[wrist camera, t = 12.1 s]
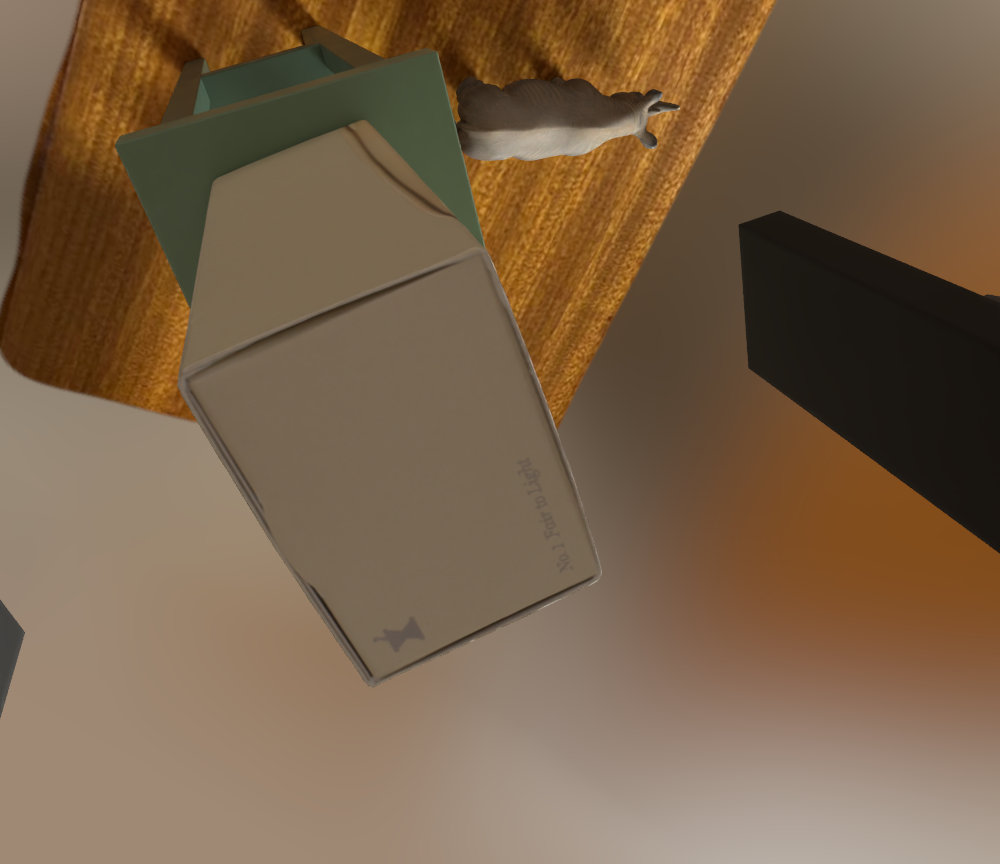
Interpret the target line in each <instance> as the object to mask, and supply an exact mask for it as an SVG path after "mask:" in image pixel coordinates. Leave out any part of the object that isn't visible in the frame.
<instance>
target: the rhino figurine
mask: <svg viewBox="0 0 1000 864" xmlns="http://www.w3.org/2000/svg"><path fill="white" fill-rule="evenodd" d="M456 94H457V100H458V102H459V105H458V114H459V117H460V118H461V121H459V122H457V124H456V122H455V120H454V122H455V126H456V130H457V134H458V138H459V142H460V146H461V150H462V151H463V152H464V153H465V154H466V155H468V156H469V157H471V158H474V159H478V160H485V161H490V160H504V159H507V158H510V157H514V158H517V159H521V160H539V159H542V158H546V157H551V156H558V155H566V156H577V155H583V154H586V153H588V152H590V151H592V150H593V149H595V148H597V147H598V146H600V145H601V144H602V143H604V142H605V141H607V140H610V139H612V138H617V137H621V136H627V135H630V134H632V135H634V136H636V137H638V138H639V139H640V141H641V143H642V144H643V145H644V146H645V147H646V148H650V149H654V148H656V147H657V139H656V137H655V136H654V135H653V134H652V133H650V132H648V131H646V124H647V118H648V117H649V116H652V115H655V114H658V113H662V112H667V111H674V110H679V109H680V106H679V105H676V104H672V103H666V102H662V101H659V100H660V98H661V97H662V92H660V91H657V90H654V89H652V90H650V91H649V92H647V93H646V94H645V96H643V95H642V94H641V93H640V92H629V93H626V92H619V93H615V94H613V95H611V97H609V96H605V95H602V94H601V93H600V92H599V91H598V90H597V89H596V88H595V87H594V86H593V85H592V84H591V83H589V82H588V81H586V80H583V79H578V78H576V79H570V80H568V81H565V80H563V79H561V78H559V77H555V78H554V79H553V80H551V81H550V82H548V81H545V80H539V79H524V80H519V81H516V82H513V83H511V84H509V85H506V86H505V87H504V88H503V89H502V90H501V89H500V88H499V87H498V86H496V85H490V84H484V83H483V82H482V81H480V80H477V79H476V78H475V77H473V76H469V77H467V78H466V79H465V80H464V81H463V82H462V83H460V84H459V86H458V88H457V91H456Z"/></svg>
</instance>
